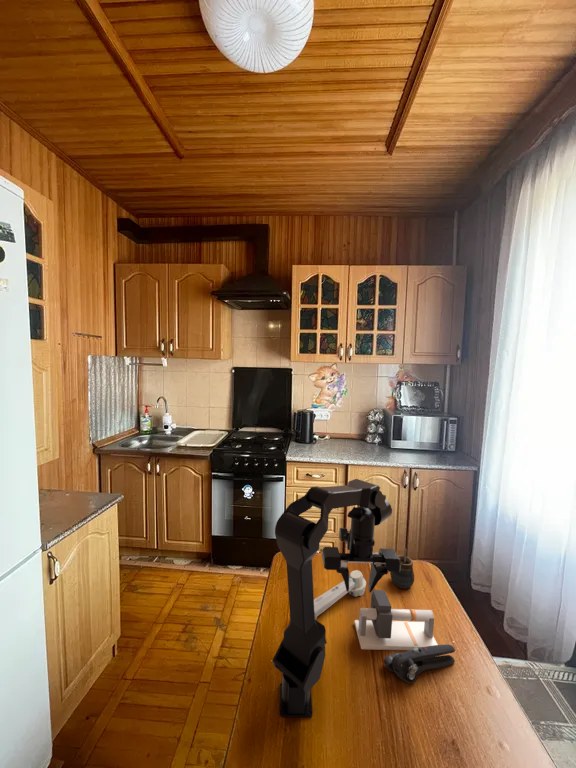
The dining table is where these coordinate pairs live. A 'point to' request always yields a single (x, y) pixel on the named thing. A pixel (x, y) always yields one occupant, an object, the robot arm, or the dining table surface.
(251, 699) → the dining table surface
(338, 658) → the dining table surface
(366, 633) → the pipe stand
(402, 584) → the mate gourd
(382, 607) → the stepped block
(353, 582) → the light grey long piece
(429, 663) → the can opener
